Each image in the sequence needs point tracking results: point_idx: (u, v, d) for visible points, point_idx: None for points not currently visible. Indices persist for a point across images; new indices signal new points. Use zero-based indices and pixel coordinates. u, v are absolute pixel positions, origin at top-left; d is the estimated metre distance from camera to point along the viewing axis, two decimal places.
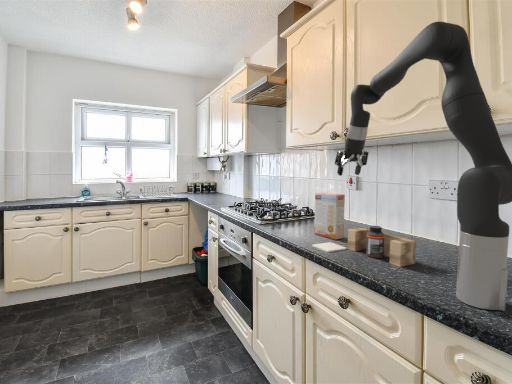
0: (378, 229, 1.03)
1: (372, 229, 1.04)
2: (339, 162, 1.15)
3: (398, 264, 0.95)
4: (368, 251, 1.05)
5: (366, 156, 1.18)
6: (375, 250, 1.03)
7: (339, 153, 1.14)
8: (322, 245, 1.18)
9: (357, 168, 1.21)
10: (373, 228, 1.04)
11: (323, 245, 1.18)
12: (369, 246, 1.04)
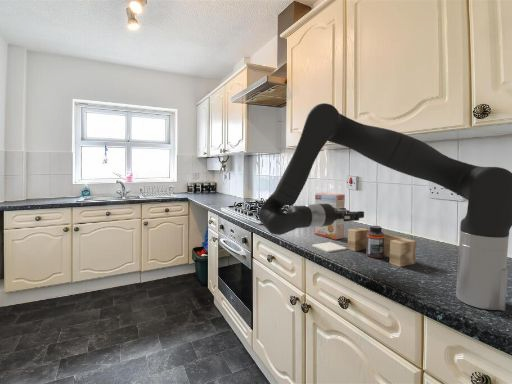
0: (378, 229, 1.03)
1: (372, 229, 1.04)
2: (355, 213, 0.91)
3: (398, 264, 0.95)
4: (368, 251, 1.05)
5: None
6: (375, 250, 1.03)
7: (347, 216, 0.89)
8: (322, 245, 1.18)
9: None
10: (373, 228, 1.04)
11: (323, 245, 1.18)
12: (369, 246, 1.04)
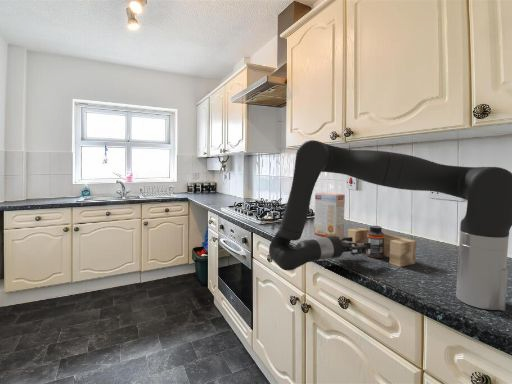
0: (378, 229, 1.03)
1: (372, 229, 1.04)
2: (362, 245, 0.93)
3: (398, 264, 0.95)
4: (368, 251, 1.05)
5: None
6: (375, 250, 1.03)
7: (355, 249, 0.92)
8: None
9: (346, 240, 1.04)
10: (373, 228, 1.04)
11: None
12: None
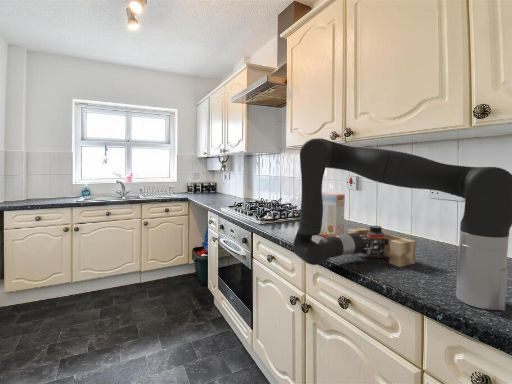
0: (378, 229, 1.03)
1: (372, 229, 1.04)
2: (381, 241, 0.99)
3: (398, 264, 0.95)
4: (368, 251, 1.05)
5: None
6: None
7: (376, 245, 0.96)
8: None
9: None
10: (373, 228, 1.03)
11: None
12: None
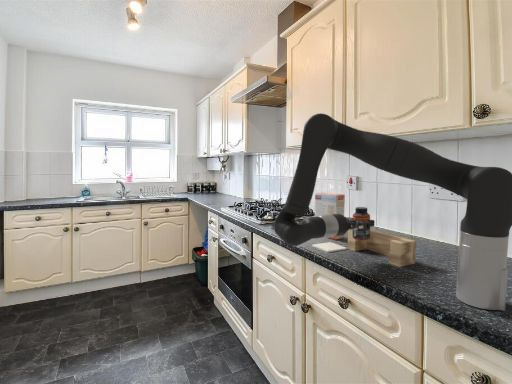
0: (364, 210, 0.99)
1: (357, 210, 1.00)
2: (366, 222, 0.94)
3: (398, 264, 0.95)
4: (354, 233, 1.00)
5: None
6: (361, 231, 0.98)
7: (361, 225, 0.92)
8: (322, 245, 1.18)
9: None
10: (358, 209, 0.99)
11: (323, 245, 1.18)
12: None
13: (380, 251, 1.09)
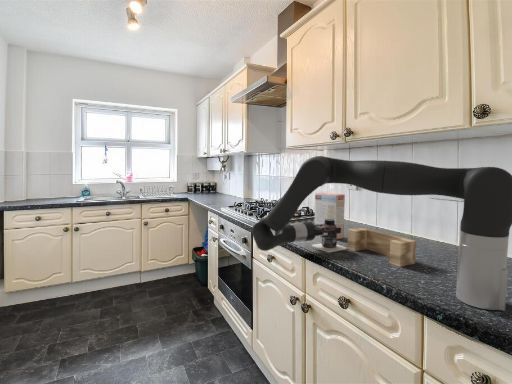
0: (331, 222, 1.14)
1: (326, 222, 1.14)
2: (332, 229, 1.08)
3: (398, 264, 0.95)
4: (323, 242, 1.15)
5: None
6: (328, 240, 1.13)
7: (325, 232, 1.06)
8: None
9: (321, 226, 1.19)
10: (327, 221, 1.14)
11: None
12: (323, 237, 1.15)
13: (380, 251, 1.09)
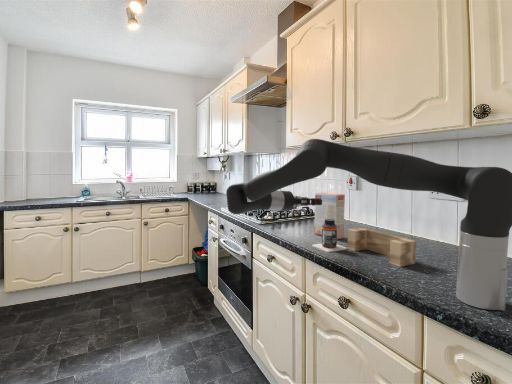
0: (331, 222, 1.14)
1: (326, 222, 1.14)
2: None
3: (398, 264, 0.95)
4: (323, 242, 1.15)
5: None
6: (329, 240, 1.13)
7: (303, 200, 1.01)
8: None
9: None
10: (327, 221, 1.14)
11: None
12: (323, 237, 1.15)
13: (380, 251, 1.09)
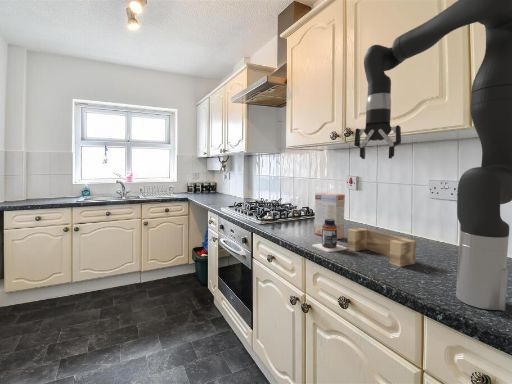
0: (331, 222, 1.14)
1: (326, 222, 1.14)
2: None
3: (398, 264, 0.95)
4: (323, 242, 1.15)
5: None
6: (329, 240, 1.13)
7: (400, 128, 0.91)
8: None
9: (364, 150, 0.97)
10: (327, 221, 1.14)
11: None
12: (323, 237, 1.15)
13: (380, 251, 1.09)
